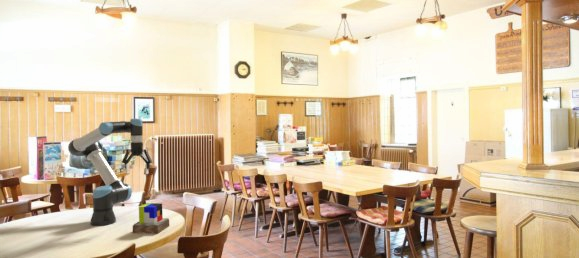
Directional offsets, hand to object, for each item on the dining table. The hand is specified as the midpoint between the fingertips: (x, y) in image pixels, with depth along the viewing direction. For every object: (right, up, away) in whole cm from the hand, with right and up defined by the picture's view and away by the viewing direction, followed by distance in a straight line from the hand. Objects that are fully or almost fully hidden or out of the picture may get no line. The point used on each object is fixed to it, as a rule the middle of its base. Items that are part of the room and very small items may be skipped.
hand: (137, 173), depth 267 cm
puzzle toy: (+16, -27, -20) cm, 37 cm away
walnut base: (+16, -32, -20) cm, 41 cm away
